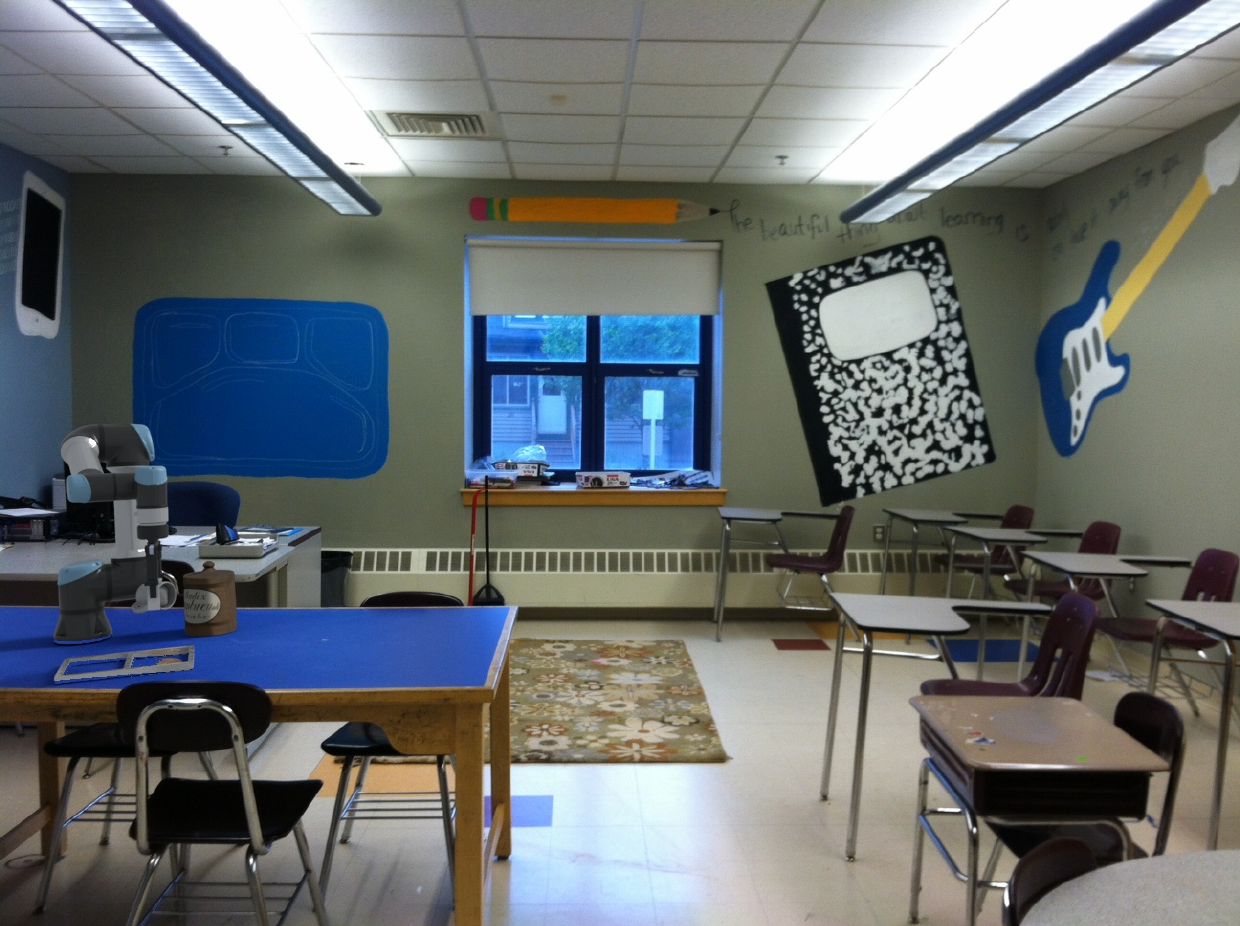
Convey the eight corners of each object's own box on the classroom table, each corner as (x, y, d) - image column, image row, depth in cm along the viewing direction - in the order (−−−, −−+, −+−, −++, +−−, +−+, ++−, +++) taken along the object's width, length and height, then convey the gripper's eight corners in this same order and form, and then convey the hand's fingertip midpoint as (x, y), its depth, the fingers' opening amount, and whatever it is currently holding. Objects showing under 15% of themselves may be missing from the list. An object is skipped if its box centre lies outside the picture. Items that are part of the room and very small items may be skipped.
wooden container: (173, 635, 271) (171, 564, 270) (208, 624, 285) (206, 556, 284) (214, 638, 267) (212, 566, 266) (247, 627, 281) (245, 558, 280)
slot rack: (65, 665, 238) (65, 658, 238) (194, 652, 251) (194, 645, 251) (54, 685, 221) (54, 677, 220) (193, 669, 234) (193, 661, 234)
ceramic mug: (154, 605, 243) (152, 578, 242) (177, 606, 240) (176, 579, 240) (123, 613, 233) (122, 585, 232) (148, 615, 231) (146, 587, 230)
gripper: (140, 520, 245) (143, 599, 247) (132, 529, 225) (135, 615, 226) (170, 518, 248) (173, 597, 250) (165, 527, 228) (168, 612, 229)
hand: (155, 605), depth 238 cm, fingers closed on ceramic mug, 10 cm apart
